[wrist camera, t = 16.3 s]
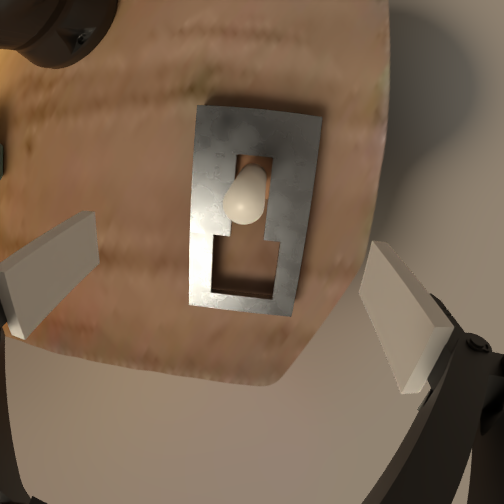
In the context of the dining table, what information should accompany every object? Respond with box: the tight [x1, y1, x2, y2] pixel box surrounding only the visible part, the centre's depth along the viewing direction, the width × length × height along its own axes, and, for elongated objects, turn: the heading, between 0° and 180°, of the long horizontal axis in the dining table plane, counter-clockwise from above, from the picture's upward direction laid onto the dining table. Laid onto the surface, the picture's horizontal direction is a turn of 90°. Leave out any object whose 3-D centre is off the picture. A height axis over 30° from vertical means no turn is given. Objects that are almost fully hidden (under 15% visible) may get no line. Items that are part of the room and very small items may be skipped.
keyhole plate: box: [189, 105, 322, 317], centre depth 36 cm, size 24×13×3 cm, turn 174°
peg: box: [223, 154, 273, 224], centre depth 29 cm, size 6×6×14 cm
